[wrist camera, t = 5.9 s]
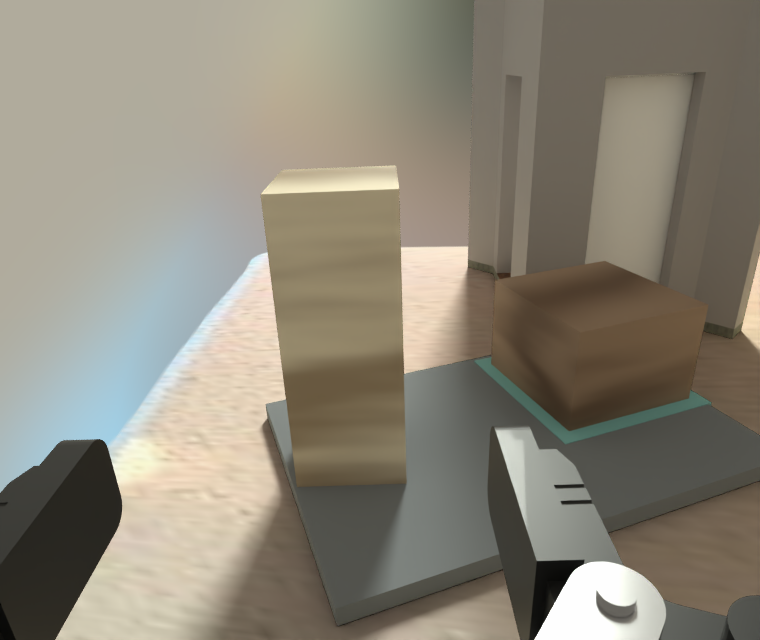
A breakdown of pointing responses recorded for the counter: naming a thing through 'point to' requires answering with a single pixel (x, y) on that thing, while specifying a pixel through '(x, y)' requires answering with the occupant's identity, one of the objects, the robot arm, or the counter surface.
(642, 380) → the base block
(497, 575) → the counter surface
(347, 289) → the pillar
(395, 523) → the mat
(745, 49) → the cabinet
